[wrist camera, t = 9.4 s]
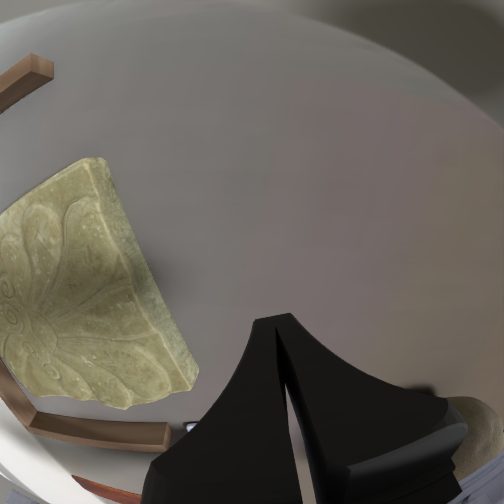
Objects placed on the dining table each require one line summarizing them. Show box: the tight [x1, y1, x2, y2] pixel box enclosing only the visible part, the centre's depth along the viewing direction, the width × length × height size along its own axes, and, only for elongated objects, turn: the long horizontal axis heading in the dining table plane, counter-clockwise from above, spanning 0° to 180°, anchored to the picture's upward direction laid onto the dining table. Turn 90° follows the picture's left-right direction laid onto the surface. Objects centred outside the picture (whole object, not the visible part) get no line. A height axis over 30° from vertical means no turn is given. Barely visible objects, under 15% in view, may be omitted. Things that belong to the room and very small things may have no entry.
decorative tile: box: [0, 157, 199, 410], centre depth 18 cm, size 18×20×4 cm
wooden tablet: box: [72, 475, 142, 504], centre depth 33 cm, size 27×10×2 cm, turn 80°
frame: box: [0, 54, 173, 453], centre depth 17 cm, size 35×22×3 cm, turn 10°
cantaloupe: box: [447, 397, 504, 482], centre depth 19 cm, size 14×14×15 cm
